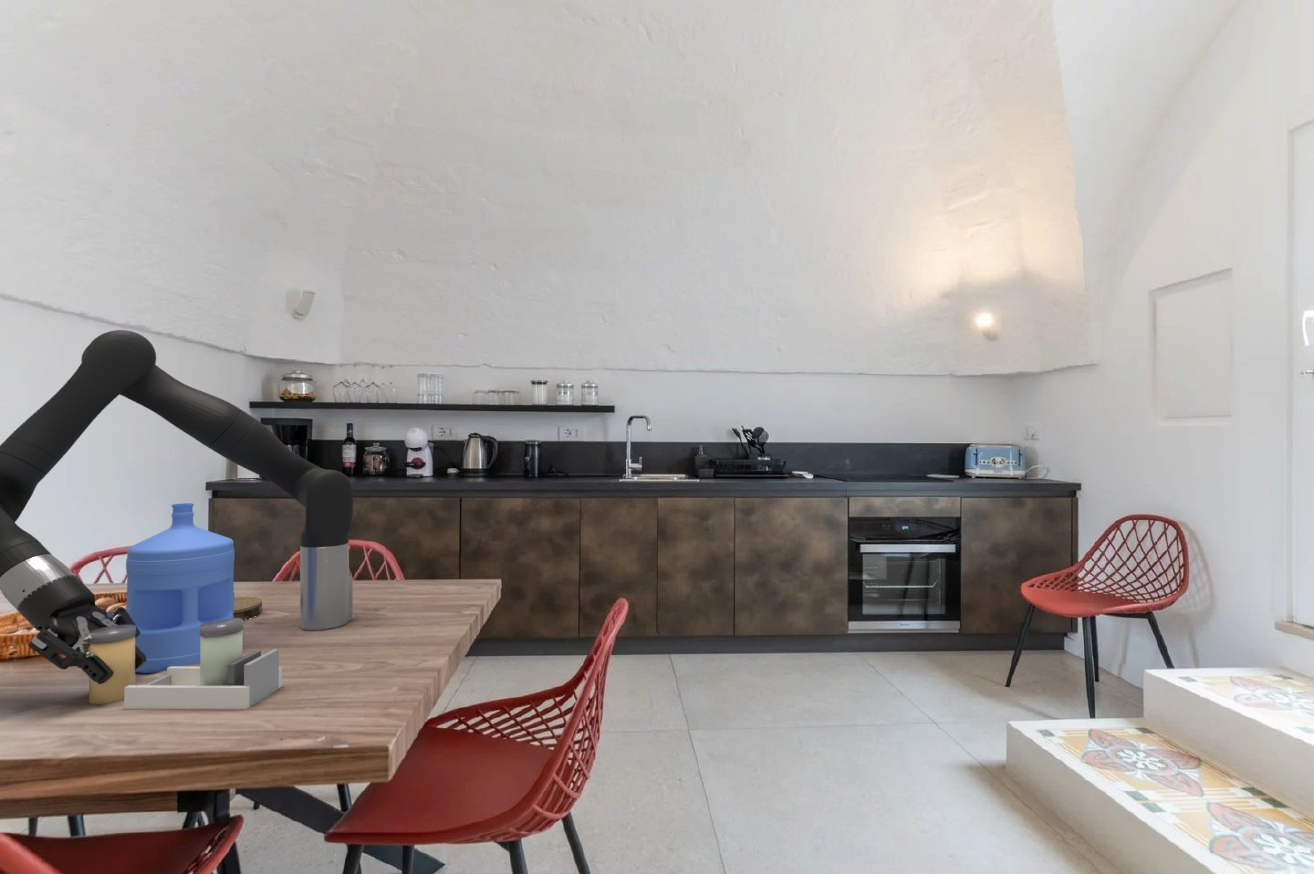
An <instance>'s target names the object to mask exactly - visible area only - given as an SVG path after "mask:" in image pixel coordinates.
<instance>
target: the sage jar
mask: <svg viewBox="0 0 1314 874" xmlns="http://www.w3.org/2000/svg"><path fill="white" fill-rule="evenodd" d="M243 630H244V621H243V619H239V618H228V619H219V620H214V621H210V622H206V623H203V624H201V625H200V662H199V664H200V665H199V667H200V686H227V669H228V664H230V663H232V662H234V661H236V660H237V659H239V658H241V657H243V656H244V655H243V654H244V653H243V651H244V650H243V649H244V647H243V640H244V633H243V632H244V631H243Z"/></svg>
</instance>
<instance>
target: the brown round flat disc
mask: <svg viewBox="0 0 1314 874" xmlns="http://www.w3.org/2000/svg"><path fill="white" fill-rule="evenodd" d="M261 612H262V613H263V600H262V598H259V597H257V596H256V597H255V596H234V606H233V618H239V619H243V620H245V619H249V618H252V617H254V616H257V617H259V616H260V615H261V614H262V613H261ZM260 613H261V614H260ZM258 615H259V616H258ZM254 618H255V617H254ZM252 619H253V618H252ZM249 620H250V619H249Z"/></svg>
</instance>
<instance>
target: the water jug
mask: <svg viewBox="0 0 1314 874" xmlns="http://www.w3.org/2000/svg"><path fill="white" fill-rule="evenodd" d="M171 507H172V513H171V519H172V520H171V522H172V523H171V525H170V527H169V528H167V529H165V530H163V531H161V532H158V533H156V534H155V535H154V534H153V535H152V536H150V537H148V538H146V539H144V540H142V541H140V542H137V543H136V544H134V545H131V546H130V547H128V549H127V553H126V554H127V555H126V556H127V557H126V561H125V570H126V606H125V610H126V611H127V613H128V614H129V616H130V617H131V619H132V620H133V622H134V623H135V625H136V626H137V628H138V629H139V631H140V635H139V636H138V637H137V638H136V639H135V645H136V646H137V647H138V648H139V649H140V651H142V652H143V653H144V654H145V656H146V659H147V660H146V662H145V663H144V664H143V665H142V666H141V667H140V668H138V669H136V670H135V673H140V674H141V673H142V674H157V673H162V672H164V671H167V668H169V667H171V666H190V665H193V664H197V663H199V664H200V625H201V624H203V623H206V622H210V621H214V620H219V619H228V618H233V606H234V597H235V592H234V580H235V579H234V578H235V577H234V572H235V571H234V570H235V569H234V563H235V559H236V558H235V556H236V555H235V547H234V540H233V539H232V538H231V537H230V538H229V537H228V536H224V535H221V534H218V533H215V532H212V531H210V530H207V529H204V528H201V527H198V526H196V525H195V523H194V514H195V513H194V511H193V510H194V509H193V507H194V503H190V502H189V503H186V502H185V503H174V504H171Z"/></svg>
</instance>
